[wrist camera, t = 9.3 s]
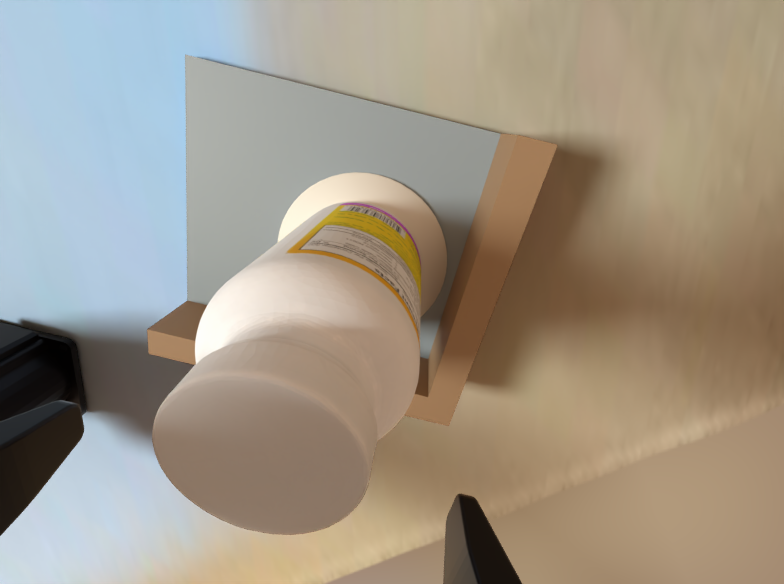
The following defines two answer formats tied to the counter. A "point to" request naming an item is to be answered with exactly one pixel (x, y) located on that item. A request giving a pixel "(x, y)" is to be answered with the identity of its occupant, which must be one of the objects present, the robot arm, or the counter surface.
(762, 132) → the counter surface
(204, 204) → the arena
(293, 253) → the supplement bottle
